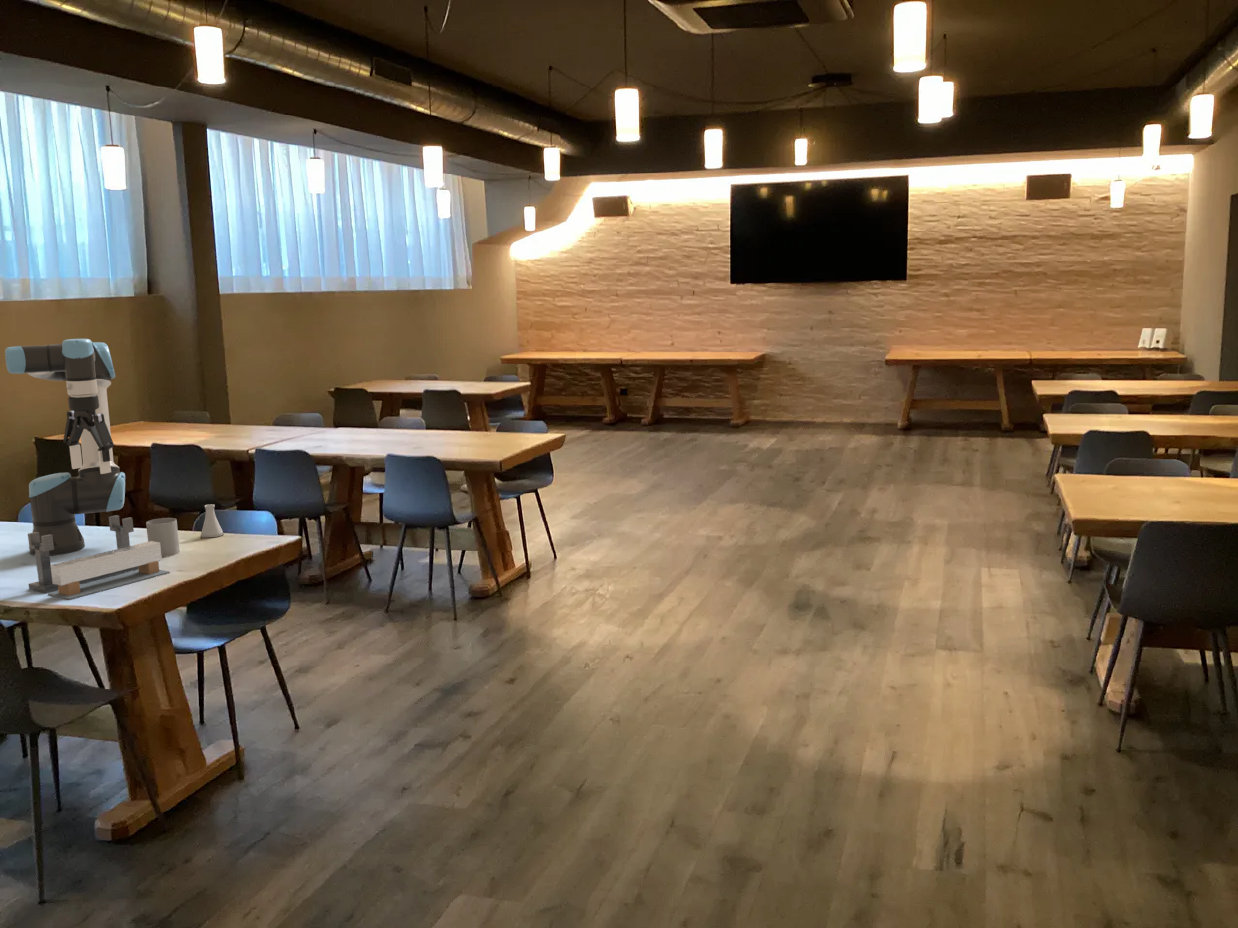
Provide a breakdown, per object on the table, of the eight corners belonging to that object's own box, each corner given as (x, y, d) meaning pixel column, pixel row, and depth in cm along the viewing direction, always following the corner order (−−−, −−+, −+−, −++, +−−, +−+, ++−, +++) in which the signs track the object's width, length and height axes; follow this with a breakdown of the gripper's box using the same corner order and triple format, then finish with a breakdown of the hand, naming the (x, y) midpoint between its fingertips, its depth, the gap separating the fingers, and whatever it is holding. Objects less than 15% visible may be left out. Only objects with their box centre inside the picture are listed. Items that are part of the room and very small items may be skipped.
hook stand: (29, 589, 284) (22, 534, 282) (125, 564, 308) (120, 514, 305) (45, 593, 280) (38, 537, 278) (142, 568, 303) (136, 516, 301)
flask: (221, 537, 339) (218, 507, 337) (197, 538, 338) (194, 508, 337) (226, 532, 346) (224, 502, 344) (203, 533, 345) (201, 503, 344)
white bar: (52, 583, 277) (50, 564, 276) (153, 558, 301) (151, 541, 300) (61, 585, 274) (59, 566, 274) (161, 559, 298) (160, 542, 298)
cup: (168, 557, 315) (165, 524, 314) (143, 556, 317) (140, 523, 315) (185, 550, 324) (182, 518, 322) (161, 549, 325) (157, 517, 324)
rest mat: (47, 594, 279) (46, 582, 278) (148, 568, 303) (146, 556, 302) (69, 599, 273) (68, 587, 273) (169, 572, 297) (168, 561, 297)
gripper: (44, 394, 297) (53, 468, 301) (96, 399, 284) (105, 477, 288) (70, 391, 303) (78, 463, 307) (122, 396, 290) (130, 472, 294)
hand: (91, 470), depth 298 cm, fingers open, 13 cm apart
